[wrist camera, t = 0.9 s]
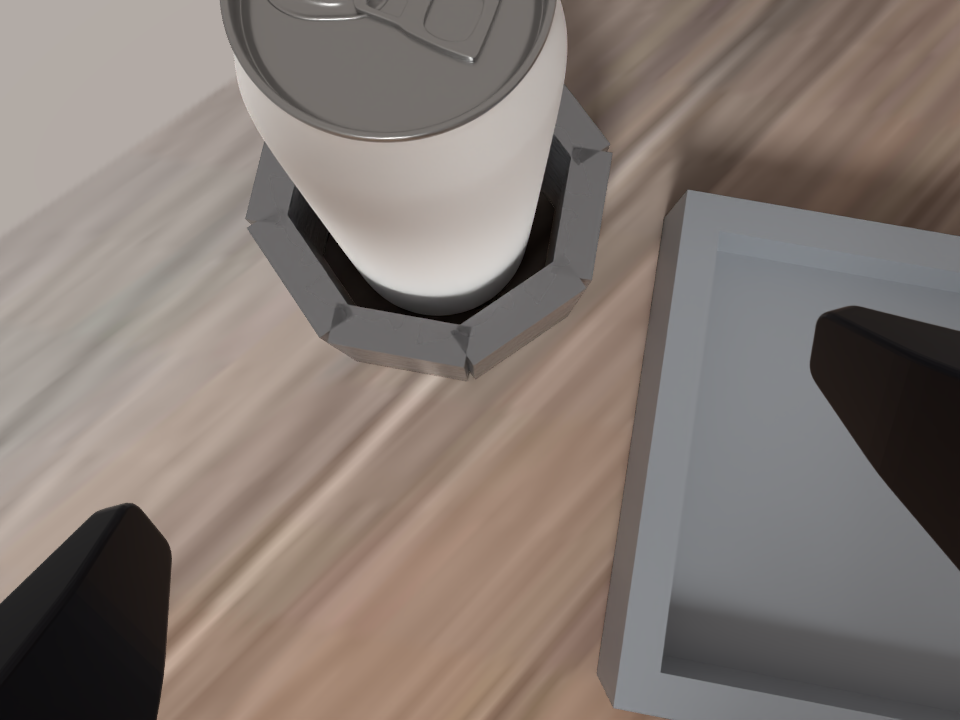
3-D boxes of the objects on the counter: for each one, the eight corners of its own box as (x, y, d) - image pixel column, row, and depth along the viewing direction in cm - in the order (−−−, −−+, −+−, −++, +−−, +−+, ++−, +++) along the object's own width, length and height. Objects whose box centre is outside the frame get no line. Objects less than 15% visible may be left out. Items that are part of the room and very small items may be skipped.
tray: (1085, 769, 19) (1175, 818, 17) (596, 674, 20) (613, 707, 17) (1106, 294, 21) (1188, 275, 19) (664, 218, 22) (687, 189, 19)
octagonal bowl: (556, 397, 21) (574, 387, 17) (269, 345, 21) (219, 323, 17) (601, 124, 22) (628, 56, 18) (331, 79, 22) (299, 1, 18)
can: (389, 126, 22) (282, -237, 10) (552, 182, 22) (636, -125, 10) (324, 283, 21) (127, 88, 9) (492, 344, 21) (506, 220, 9)
